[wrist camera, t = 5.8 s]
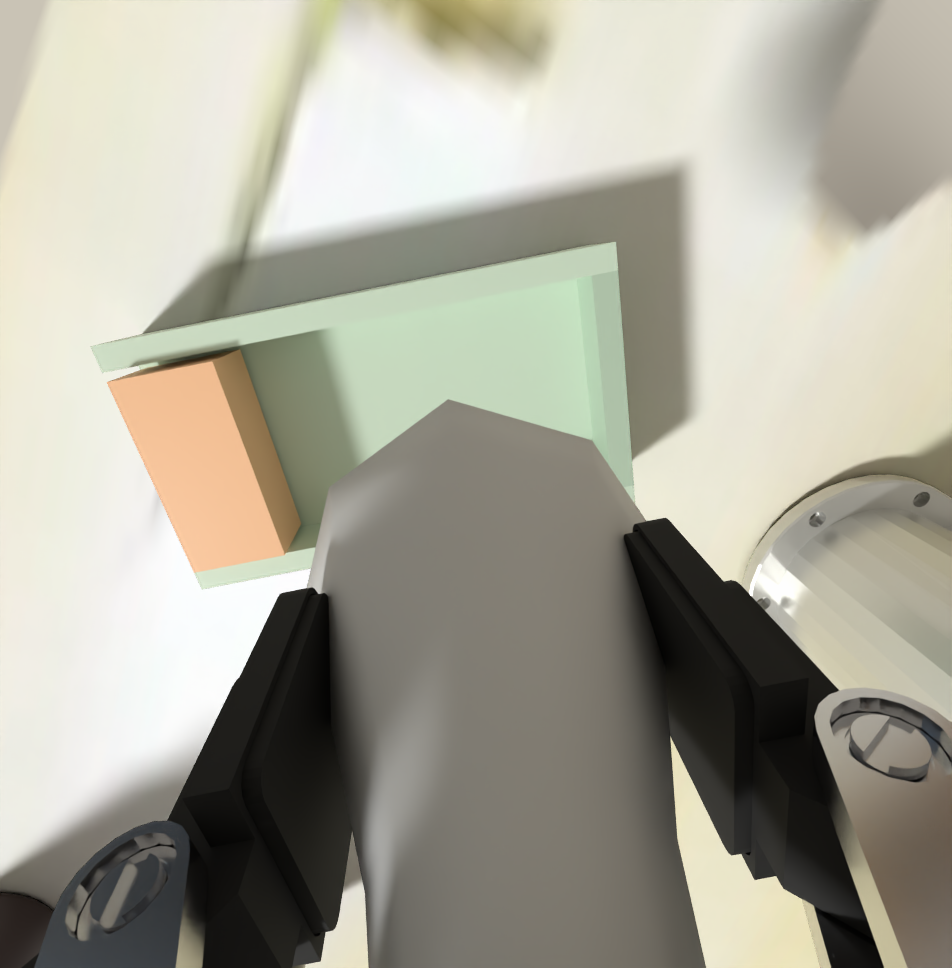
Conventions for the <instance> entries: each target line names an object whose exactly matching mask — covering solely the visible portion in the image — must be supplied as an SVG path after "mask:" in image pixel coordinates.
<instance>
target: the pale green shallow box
mask: <svg viewBox="0 0 952 968" xmlns="http://www.w3.org/2000/svg"><path fill="white" fill-rule="evenodd" d="M91 349H92V351H93V353H94V355H95V358H96V360H97V362H98V364H99V366H100V369H101V371H102V373H104V372H109V371H114V370H119V369H124V368H129V367H134V366H139V368H140V370H142V369H145V368H148V367H153V366H158V365H163V364H168V363H173V362H178V361H183V360H188V359H193V358H198V357H203V356H208V355H213V354H218V353H223V352H228V351H233V350H238V349H240V350H241V353H242V356H243V359H244V362H245V365H246V367H247V370H248V373H249V376H250V379H251V382H252V384H253V387H254V390H255V393H256V396H257V399H258V402H259V404H260V407H261V410H262V413H263V416H264V419H265V421H266V424H267V427H268V430H269V433H270V436H271V439H272V441H273V444H274V447H275V450H276V453H277V456H278V458H279V461H280V464H281V467H282V470H283V473H284V476H285V478H286V481H287V484H288V487H289V490H290V493H291V495H292V498H293V501H294V504H295V507H296V510H297V513H298V515H299V518H300V521H301V525H300V527H299V529H298V531H297V533H296V535H295V537H294V539H293V541H292V543H291V545H290V546H289V548H288V550H287V552H286V554H285V555H283V556H278V557H273V558H268V559H263V560H258V561H252V562H247V563H242V564H237V565H232V566H227V567H222V568H216V569H211V570H206V571H201V572H196V573H195V575H196V578H197V580H198V582H199V584H200V586H201V588H202V589H207V588H212V587H217V586H222V585H228V584H233V583H238V582H243V581H248V580H253V579H258V578H264V577H269V576H274V575H279V574H284V573H289V572H294V571H300V570H305V569H310V568H311V566H312V562H313V557H314V553H315V548H316V544H317V539H318V535H319V530H320V526H321V522H322V517H323V513H324V508H325V504H326V499H327V495H328V490H329V487H330V486H331V485H333V484H334V483H336V482H337V481H338V480H340V479H341V478H342V477H344V476H345V475H346V474H348V473H349V472H350V471H352V470H353V469H354V468H356V467H357V466H358V465H360V464H361V463H363V462H364V461H365V460H367V459H368V458H369V457H371V456H372V455H373V454H375V453H376V452H377V451H379V450H380V449H381V448H383V447H384V446H386V445H387V444H388V443H390V442H391V441H392V440H394V439H395V438H396V437H398V436H399V435H400V434H402V433H403V432H404V431H406V430H407V429H408V428H410V427H411V426H413V425H414V424H415V423H417V422H418V421H419V420H421V419H422V418H423V417H425V416H426V415H427V414H429V413H430V412H431V411H433V410H434V409H435V408H437V407H438V406H440V405H441V404H442V403H444V402H445V401H446V400H448V399H449V400H453V401H456V402H460V403H463V404H467V405H470V406H474V407H477V408H481V409H484V410H488V411H491V412H495V413H498V414H502V415H505V416H509V417H512V418H516V419H519V420H523V421H526V422H530V423H533V424H537V425H540V426H544V427H547V428H551V429H554V430H558V431H561V432H565V433H568V434H572V435H575V436H579V437H582V438H586V439H589V440H592V441H593V443H594V444H595V446H596V447H597V448H598V450H599V451H600V453H601V454H602V456H603V457H604V459H605V460H606V462H607V463H608V465H609V466H610V468H611V469H612V471H613V472H614V474H615V475H616V477H617V478H618V480H619V481H620V483H621V484H622V486H623V487H624V489H625V490H626V492H627V493H628V495H629V496H630V498H631V499H632V501H633V502H634V504H635V495H634V481H633V468H632V454H631V440H630V427H629V413H628V399H627V385H626V372H625V358H624V344H623V331H622V317H621V303H620V290H619V276H618V262H617V248H616V242H609V243H600V244H591V245H586V246H581V247H576V248H571V249H566V250H561V251H556V252H551V253H546V254H541V255H536V256H531V257H526V258H521V259H516V260H511V261H506V262H501V263H496V264H491V265H485V266H480V267H475V268H470V269H465V270H460V271H455V272H450V273H445V274H440V275H435V276H430V277H425V278H420V279H415V280H410V281H405V282H400V283H395V284H390V285H385V286H380V287H375V288H370V289H365V290H360V291H355V292H350V293H345V294H340V295H335V296H330V297H325V298H320V299H315V300H310V301H305V302H300V303H295V304H290V305H285V306H280V307H275V308H270V309H265V310H260V311H255V312H250V313H245V314H240V315H235V316H230V317H225V318H220V319H215V320H210V321H205V322H200V323H195V324H190V325H185V326H180V327H175V328H170V329H165V330H160V331H155V332H150V333H145V334H140V335H136V336H132V337H128V338H124V339H119V340H115V341H111V342H107V343H103V344H99V345H95V346H91Z"/></svg>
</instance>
